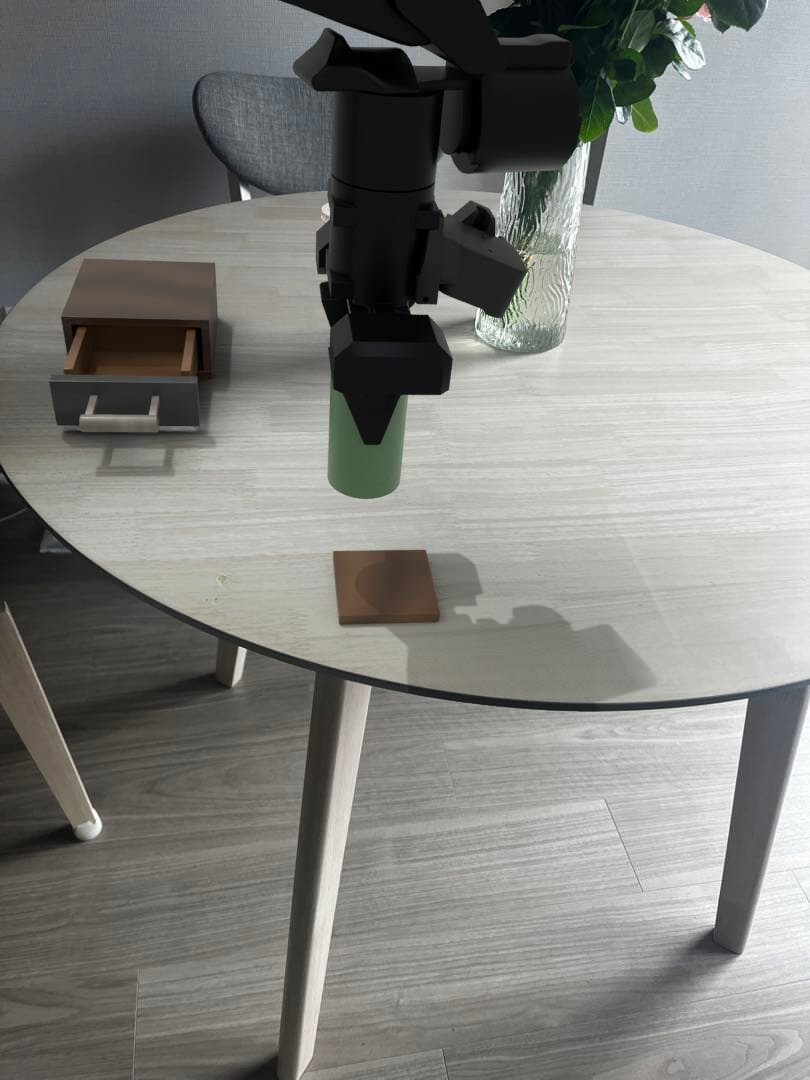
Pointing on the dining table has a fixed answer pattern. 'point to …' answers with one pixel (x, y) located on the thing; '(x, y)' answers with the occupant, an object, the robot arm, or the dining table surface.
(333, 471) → the green bottle
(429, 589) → the plate
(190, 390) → the drawer
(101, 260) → the cabinet
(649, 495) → the dining table surface
